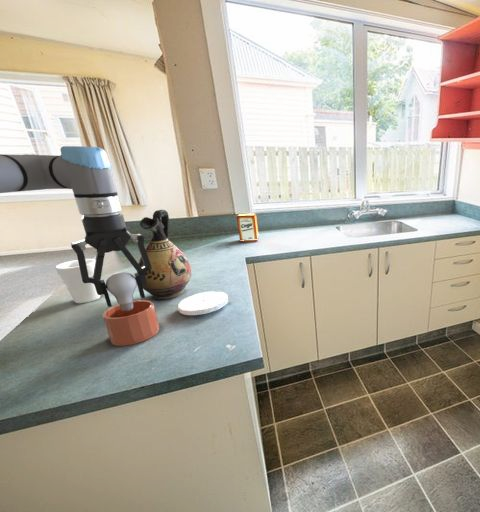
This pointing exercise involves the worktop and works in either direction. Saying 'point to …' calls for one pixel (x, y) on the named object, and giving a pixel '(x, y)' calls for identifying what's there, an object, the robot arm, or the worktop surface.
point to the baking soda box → (247, 227)
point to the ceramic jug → (164, 260)
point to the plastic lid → (202, 303)
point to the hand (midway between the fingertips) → (126, 300)
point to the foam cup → (78, 280)
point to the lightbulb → (122, 289)
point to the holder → (131, 323)
